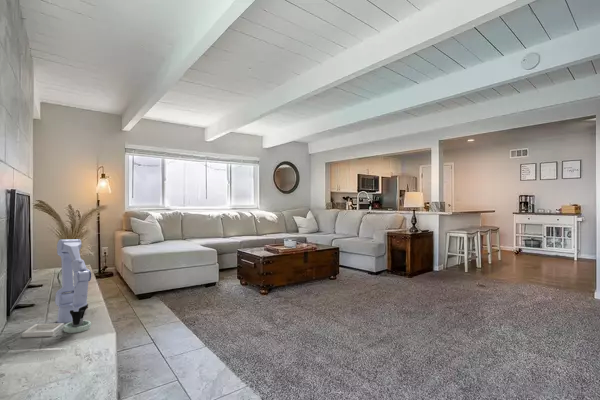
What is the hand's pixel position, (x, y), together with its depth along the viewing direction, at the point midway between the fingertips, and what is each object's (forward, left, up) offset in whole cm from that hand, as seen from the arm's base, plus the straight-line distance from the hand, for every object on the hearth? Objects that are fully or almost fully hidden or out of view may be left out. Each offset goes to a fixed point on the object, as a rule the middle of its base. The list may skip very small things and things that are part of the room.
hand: (78, 322), depth 159 cm
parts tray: (+3, -13, -4) cm, 14 cm away
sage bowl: (0, 0, -4) cm, 4 cm away
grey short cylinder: (0, 0, -3) cm, 3 cm away
